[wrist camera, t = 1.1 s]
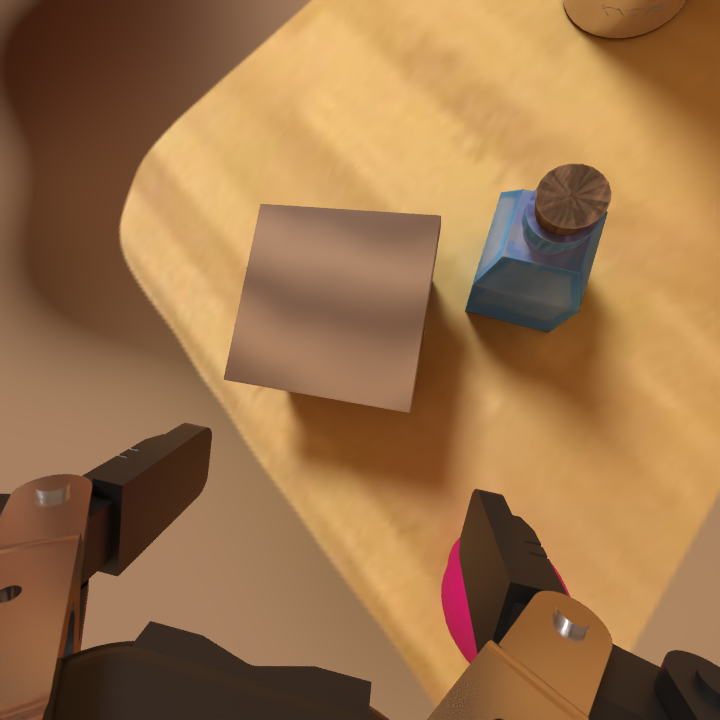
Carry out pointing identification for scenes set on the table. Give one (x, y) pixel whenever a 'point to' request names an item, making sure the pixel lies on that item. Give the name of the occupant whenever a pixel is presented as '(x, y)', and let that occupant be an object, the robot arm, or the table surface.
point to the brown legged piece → (335, 304)
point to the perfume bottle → (542, 249)
